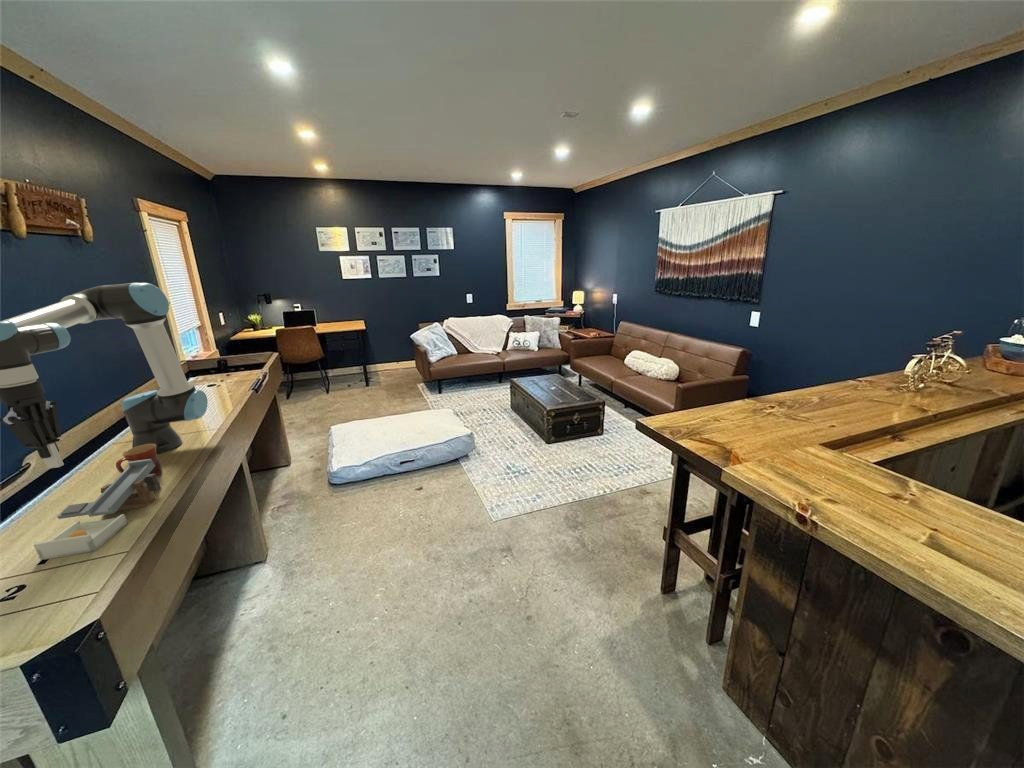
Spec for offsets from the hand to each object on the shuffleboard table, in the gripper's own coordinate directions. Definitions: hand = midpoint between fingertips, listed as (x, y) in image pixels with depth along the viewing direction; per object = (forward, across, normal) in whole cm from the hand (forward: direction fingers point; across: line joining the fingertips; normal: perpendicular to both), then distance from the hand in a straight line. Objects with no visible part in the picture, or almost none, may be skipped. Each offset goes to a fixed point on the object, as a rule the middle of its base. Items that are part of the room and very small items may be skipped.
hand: (55, 466), depth 107 cm
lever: (+13, -7, +4) cm, 15 cm away
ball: (+16, +11, +8) cm, 21 cm away
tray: (+18, +10, +8) cm, 22 cm away
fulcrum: (+18, -10, +8) cm, 23 cm away
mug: (+19, -26, 0) cm, 32 cm away
